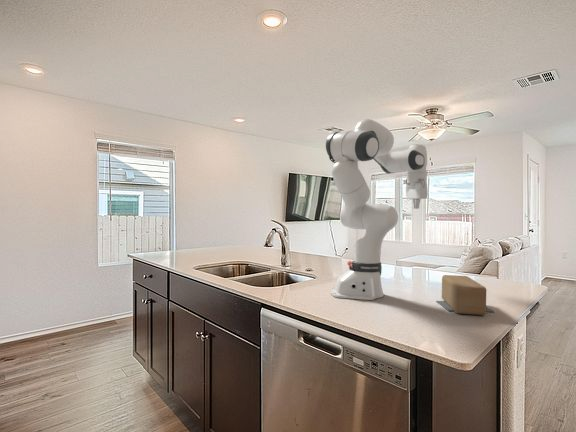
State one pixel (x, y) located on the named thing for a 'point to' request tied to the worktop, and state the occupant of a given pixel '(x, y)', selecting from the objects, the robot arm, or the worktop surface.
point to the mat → (453, 310)
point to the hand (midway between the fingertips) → (416, 208)
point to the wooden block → (464, 295)
